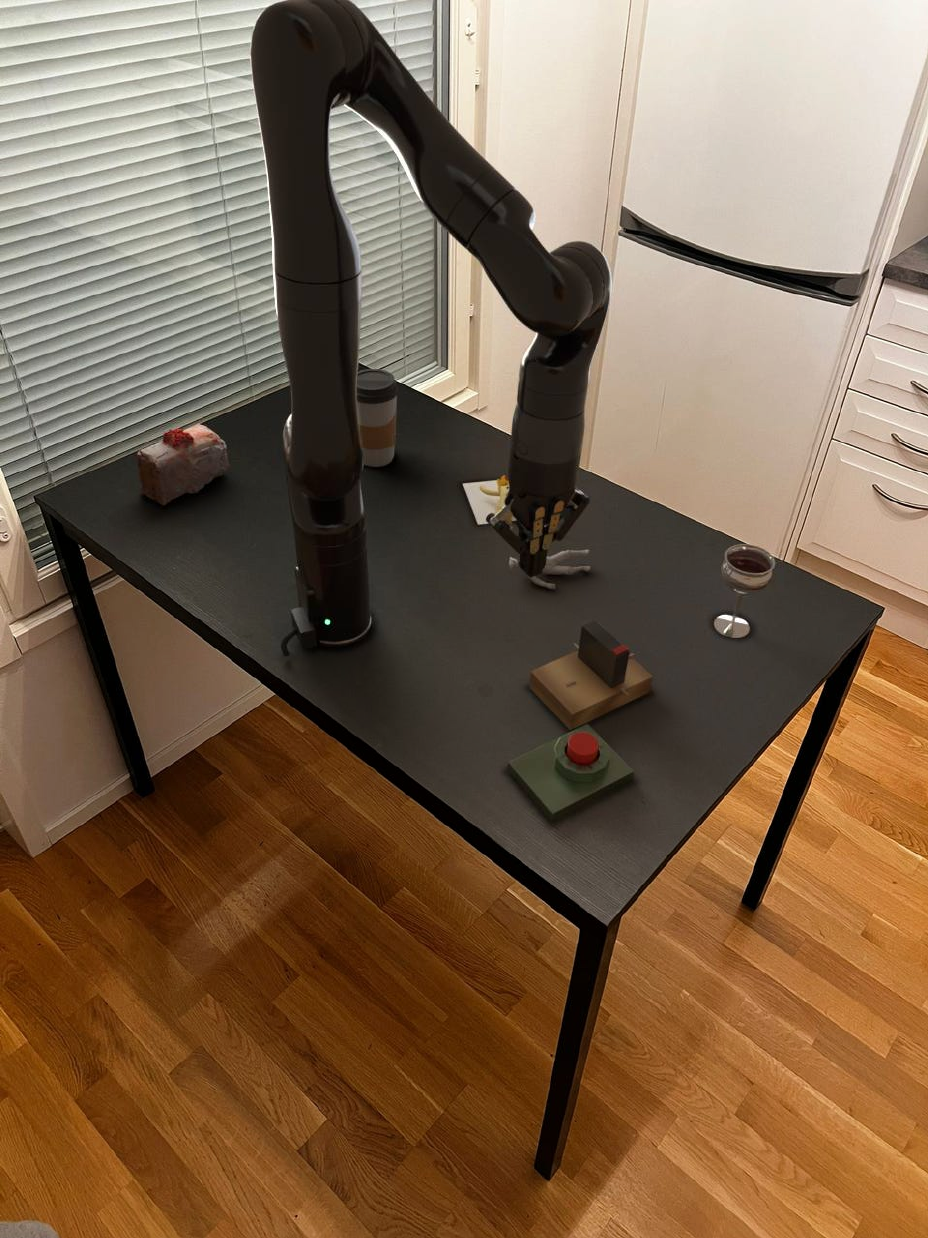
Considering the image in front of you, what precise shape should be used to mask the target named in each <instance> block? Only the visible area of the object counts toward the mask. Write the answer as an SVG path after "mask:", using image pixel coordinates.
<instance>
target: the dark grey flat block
mask: <svg viewBox="0 0 928 1238" xmlns="http://www.w3.org/2000/svg"><path fill="white" fill-rule="evenodd" d="M578 646H579V650H578V649H577V651H578V657H579V658H580V659H581V660H582V661H583V662H584V663H585V664H586V665H587V666H588V667H589V668H590V669H591V670H592V671H593V672H594V673H595V674H597V675H598V676H599V677H600V678H601V679H602V680H603V681H604V682H605V683H606V684H607V685H608V686H609V687H610V688H613V687H616V686H618V685H620V684H622V683H624V681H625V676H626V670H627V665H628V659H629V654H631V651H630V649H629V648H628V647H627V646H625V645H624V644H623V643H621V641H619V640H618V639H617V638H616V637H615V636H613V634H612V633H611V632H609V631H608V630H607V629H606V628H605V627H604V626H603V625H602V624H601V623H599V622H598V621H597V620H596V619H594V620H591V621H589V622H586V623H584V624H582V625H581V627H580V635H579V644H578Z"/></svg>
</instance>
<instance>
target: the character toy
mask: <svg viewBox="0 0 928 1238" xmlns="http://www.w3.org/2000/svg"><path fill="white" fill-rule="evenodd" d="M496 485H497V490H493V489H489V488H487V487H486V486H485V485H484V484H481V485H480V486H479V490H480V491H481V492H482V493H483V494H484V495H487V496H490V497H499V503H500V505H501V507H502V508H503V507H504V506H505V503H504V501H505V497H506V495H507V494H508V491H509V480H508V474H506V475H505V474H503V476H502V475H501V477H499V478H497V479H496Z"/></svg>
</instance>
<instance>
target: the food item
mask: <svg viewBox="0 0 928 1238" xmlns="http://www.w3.org/2000/svg"><path fill="white" fill-rule="evenodd" d="M136 456H137V457H136V458H137V467H138V475H139V481H140V483H141V487H140V489H141V492H142V494H143V495H145V496H146V497H147V498H149V499H151V500H153V501H155V502H157V503H159V504H160V505H162V506H165V505H167V504H168V503H170V502H172V500H174V499H176V498H177V499H178V498H179V497H180V496H182V495H184V494H187V493H188V494H196V493H199V492H200V491H201V490H202V489H204V487H205V485H208V484H209V483H211V482H212V480H213V479H215V478H218V477H222V475H223V473H225V472H226V473H227V471H228V469H229V466H230V463H229V461H228V460H229V459H228V451H227V444H226V442H225V441H224V440H223V439H221V438H220V436H219V435H218V434H216V432H214V431H213V430H211V429H210V428H208V427H207V426H206V425H202V424H200V423H196V424H195V425H193V426H190V427H189V428H186V429H182V428H181V429H180V428H174V429H168V431H166V432H164V433H163V436H162V440H161V441H158V442H156V443H154V444H152V445H149V446H146V447H145V448H142V449H140V450H137V454H136Z"/></svg>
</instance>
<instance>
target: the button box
mask: <svg viewBox="0 0 928 1238" xmlns="http://www.w3.org/2000/svg"><path fill="white" fill-rule="evenodd" d="M580 732H584V733H588V734H591V735H593V736H594V737H595V738H596V739H597V740H598V743H599V749H598V755H597V758H596V760H595V761H594V762H592V763H591V764H587V765H580V764H577V763H574V762H573V761H571V760H570V758H569V757H568V755H567V748H568V741H569V738H570V737H571V736H572V735H574V734H576V733H580ZM507 772H508V773H509V775H511V777H512V778H513V779H514V781H515V782H516V783H517V784H518V785H519V786H520V788H522V790H523V791H524V792H525V794H527V795H528V797H529V798H530V799H531V801H532V802H533V803H534V804H535V805H536V806H537V807H538V808H539V810H540V811H541V812H542V813H543V814H544V816H545V817H546V818H547V819H548V820H549V822H550V823H553V822H556V821H557V820H559V819H561V818H563V817H566V816H567V815H569V814H571V813H573V812H574V811H576V810H578V809H580V808H582V807H584V806H586V805H587V804H590V803H591V802H594V801H595V800H597V799H599V798H601V797H603V796H604V795H606V794H608V793H610V792H612V791H614V790H616V789H618V788H620V787H622V786H624V785H625V784H627V783H629V782H631V781H633V778H634V773H635V771H634V770H633V769H632V768H631V767H630V766H629V764H628V763H626V762H625V760H623V758H622V757H621V756H620V755H618V753H617V752H616V751H615V750H614V749H613V748H612V747H611V746H610V745H609V744H608V743H607V742H606V741H605V739H603V738H602V737H601V735H599V734H598V732H596V731H595V730H594V729H593V728H592V727H591V726H590V724H588V723H585V724H583V725H581V726H579V727H577V728H574V729H572V730H570V732H567V733H565V734H563V735H561V736H559V737H557V738H555V739H553V740H550V741H549V742H547V743H545V744H543V745H540V746H539V747H536V748H534V749H533V750H530V751H528V752H526V753H524V754H521V755H520V756H517V757H515V758H513V759H512V760H511V759H510V761H508V762H507Z"/></svg>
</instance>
